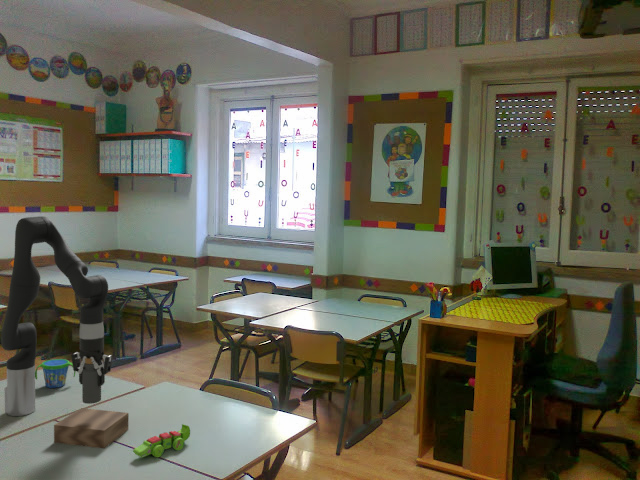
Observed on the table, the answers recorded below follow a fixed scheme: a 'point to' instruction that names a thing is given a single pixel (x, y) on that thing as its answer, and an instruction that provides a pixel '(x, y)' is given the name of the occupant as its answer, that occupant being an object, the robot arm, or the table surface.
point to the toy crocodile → (163, 442)
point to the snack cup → (55, 372)
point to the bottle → (90, 383)
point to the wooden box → (91, 428)
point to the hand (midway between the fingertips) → (91, 384)
